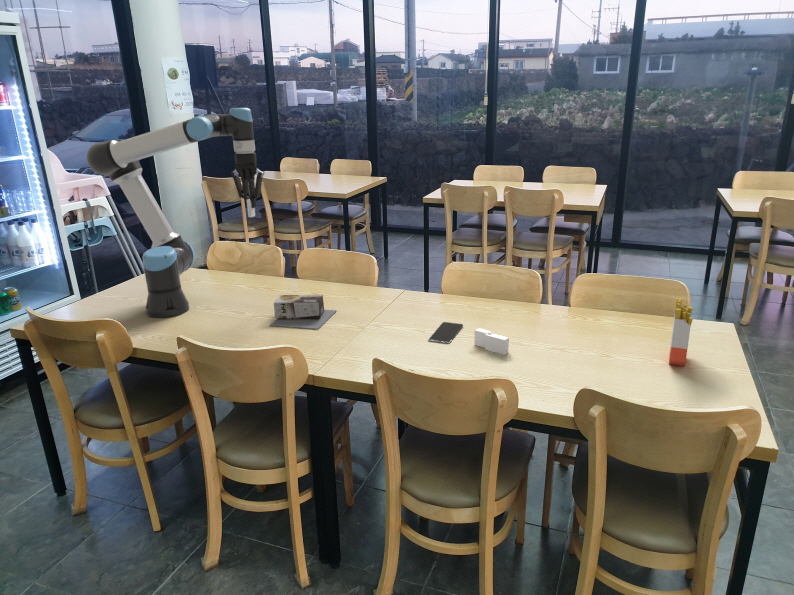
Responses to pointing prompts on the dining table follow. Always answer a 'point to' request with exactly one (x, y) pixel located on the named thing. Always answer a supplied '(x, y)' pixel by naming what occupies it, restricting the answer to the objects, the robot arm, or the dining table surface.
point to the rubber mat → (304, 321)
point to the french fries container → (680, 334)
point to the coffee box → (299, 307)
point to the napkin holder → (491, 341)
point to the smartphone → (445, 332)
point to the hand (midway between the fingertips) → (251, 216)
